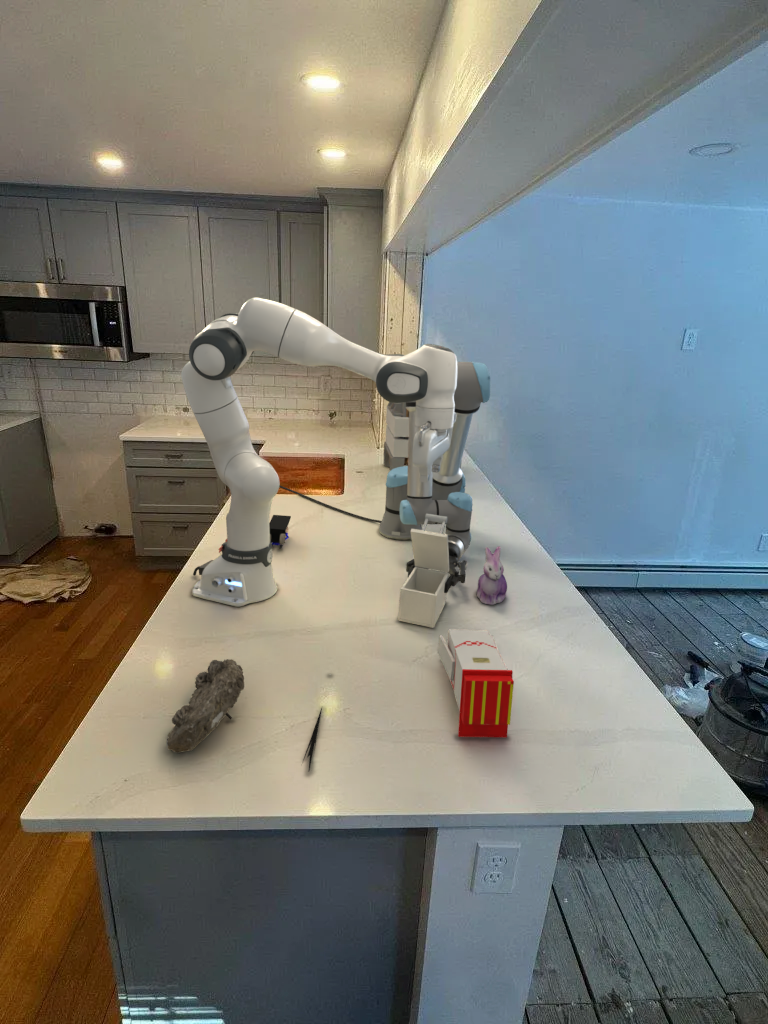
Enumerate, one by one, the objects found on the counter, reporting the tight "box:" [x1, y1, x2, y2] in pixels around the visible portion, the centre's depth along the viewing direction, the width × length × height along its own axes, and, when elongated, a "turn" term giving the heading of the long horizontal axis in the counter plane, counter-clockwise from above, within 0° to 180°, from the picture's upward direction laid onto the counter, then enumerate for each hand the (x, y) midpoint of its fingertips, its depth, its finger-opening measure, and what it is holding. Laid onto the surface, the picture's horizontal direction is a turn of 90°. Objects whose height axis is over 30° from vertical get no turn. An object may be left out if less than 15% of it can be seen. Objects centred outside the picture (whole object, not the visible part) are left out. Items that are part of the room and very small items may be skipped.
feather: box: [301, 673, 332, 771], centre depth 108 cm, size 2×28×2 cm
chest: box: [397, 567, 450, 629], centre depth 148 cm, size 14×9×9 cm, turn 162°
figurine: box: [476, 545, 508, 605], centre depth 155 cm, size 9×10×15 cm
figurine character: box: [269, 514, 292, 550], centre depth 187 cm, size 7×8×15 cm
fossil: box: [166, 658, 245, 754], centre depth 106 cm, size 22×10×15 cm
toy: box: [437, 628, 515, 738], centre depth 117 cm, size 12×13×30 cm
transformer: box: [383, 401, 463, 471], centre depth 268 cm, size 34×33×41 cm
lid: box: [411, 514, 449, 573], centre depth 149 cm, size 15×9×9 cm
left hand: (430, 476), depth 134 cm, fingers open, 8 cm apart
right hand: (427, 584), depth 150 cm, fingers closed on chest, 9 cm apart
